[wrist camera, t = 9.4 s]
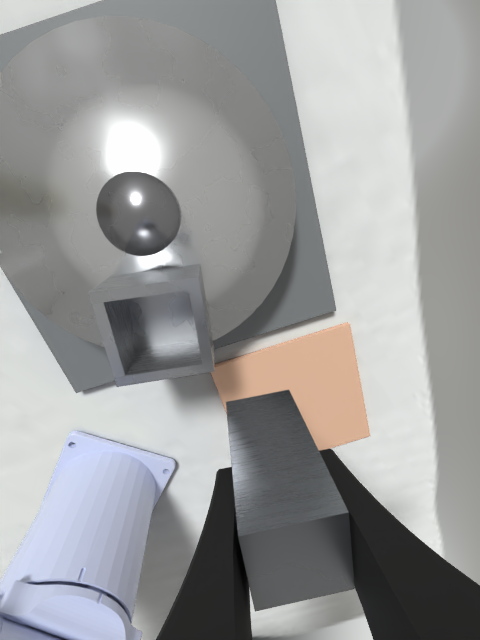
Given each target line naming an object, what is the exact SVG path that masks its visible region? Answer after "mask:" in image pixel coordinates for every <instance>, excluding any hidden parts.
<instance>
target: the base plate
mask: <svg viewBox="0 0 480 640" xmlns="http://www.w3.org/2000/svg"><path fill="white" fill-rule="evenodd" d="M100 16H128V17H135V18H142V19H149V20H153V21H156V22H159V23H163V24H166V25H169V26H172V27H175V28H178V29H180V30H182V31H184V32H186V33H188V34H190V35H192V36H194V37H196V38H198V39H200V40H201V41H203V42H204V43H206V44H207V45H209V46H210V47H212V48H213V49H215V50H216V51H218V52H219V53H221V54H222V55H223V56H224V57H225V58H226V59H228V60H229V61H230V62H231V63H232V64H233V65H234V66H236V67H237V68H238V69H239V70H240V71H241V72H242V74H243V75H244V76H245V77H246V78H247V79H248V80H249V81H250V83H251V84H252V85H253V86H254V87H255V88H256V90H257V91H258V93H259V94H260V96H261V97H262V99H263V100H264V102H265V103H266V105H267V106H268V107H269V109H270V111H271V113H272V115H273V117H274V119H275V121H276V123H277V125H278V127H279V129H280V131H281V133H282V136H283V139H284V142H285V144H286V147H287V150H288V153H289V157H290V162H291V166H292V170H293V175H294V184H295V193H296V217H295V224H294V232H293V238H292V242H291V246H290V250H289V253H288V256H287V259H286V262H285V264H284V267H283V269H282V272H281V274H280V276H279V277H278V279H277V281H276V283H275V285H274V287H273V288H272V290H271V291H270V293H269V294H268V295H267V297H266V298H265V300H264V301H263V302H262V304H261V305H260V306H259V307H258V308H257V309H256V310H255V311H254V312H253V313H252V314H251V315H250V316H249V317H248V318H247V319H246V320H245V321H243V322H242V323H241V324H240V325H239V326H237V327H236V328H234V329H233V330H231V331H230V332H228V333H227V334H225V335H224V336H222V337H220V338H218V339H216V340H214V341H213V343H214V349H216V348H219V347H223V346H226V345H229V344H232V343H235V342H238V341H241V340H245V339H248V338H251V337H254V336H257V335H260V334H263V333H267V332H270V331H273V330H276V329H279V328H282V327H285V326H289V325H292V324H295V323H298V322H301V321H304V320H307V319H311V318H314V317H317V316H320V315H323V314H326V313H330V312H333V311H336V306H335V301H334V295H333V290H332V285H331V280H330V275H329V270H328V265H327V260H326V255H325V250H324V244H323V239H322V234H321V229H320V224H319V219H318V214H317V209H316V204H315V199H314V193H313V188H312V183H311V178H310V173H309V168H308V163H307V158H306V153H305V148H304V143H303V137H302V132H301V127H300V122H299V117H298V112H297V107H296V102H295V97H294V92H293V86H292V81H291V76H290V71H289V66H288V61H287V56H286V51H285V46H284V41H283V35H282V30H281V25H280V20H279V15H278V10H277V5H276V0H102V1H99V2H96V3H93V4H90V5H87V6H84V7H81V8H78V9H75V10H72V11H69V12H66V13H64V14H61V15H58V16H55V17H52V18H49V19H46V20H43V21H40V22H37V23H34V24H31V25H28V26H25V27H22V28H19V29H16V30H13V31H10V32H7V33H4V34H1V35H0V73H1V71H2V70H3V69H4V68H5V67H6V65H7V64H8V63H9V62H10V61H11V59H12V58H13V57H14V56H15V55H17V54H18V53H19V52H20V51H21V50H22V49H24V48H25V47H26V46H27V45H28V44H29V43H31V42H32V41H34V40H35V39H37V38H39V37H40V36H42V35H44V34H46V33H47V32H49V31H51V30H52V29H55V28H58V27H61V26H63V25H66V24H69V23H71V22H74V21H78V20H83V19H89V18H94V17H100ZM0 267H1V266H0ZM3 272H4V271H3ZM5 275H6V274H5ZM6 277H7V276H6ZM7 278H8V277H7ZM8 280H9V282H10V283H11V285H12V287H13V288H14V290H15V292H16V293H17V295H18V297H19V298H20V300H21V302H22V303H23V305H24V307H25V308H26V310H27V312H28V313H29V315H30V317H31V318H32V320H33V322H34V323H35V325H36V327H37V328H38V330H39V332H40V333H41V335H42V337H43V338H44V340H45V342H46V343H47V345H48V347H49V348H50V350H51V352H52V353H53V355H54V357H55V358H56V360H57V362H58V364H59V365H60V367H61V369H62V370H63V372H64V374H65V375H66V377H67V379H68V380H69V382H70V384H71V385H72V387H73V389H74V390H75V392H76V393H78V392H81V391H84V390H87V389H90V388H94V387H97V386H100V385H103V384H106V383H109V382H112V381H115V379H114V375H113V372H112V369H111V366H110V362H109V359H108V356H107V353H106V349H105V347H102V346H99V345H97V344H94V343H91V342H89V341H86V340H84V339H82V338H80V337H78V336H76V335H74V334H72V333H70V332H68V331H66V330H65V329H63V328H62V327H60V326H59V325H57V324H56V323H54V322H52V321H51V320H50V319H48V318H47V317H46V316H45V315H43V314H42V313H41V312H40V311H39V310H37V309H36V308H35V307H34V306H33V305H32V304H31V303H30V302H29V301H28V300H27V299H26V298H25V297H24V296H23V295H22V294H21V293H20V292H19V291H18V290H17V288H16V287H15V286H14V285H13V283H12V282H11V281H10V279H9V278H8Z"/></svg>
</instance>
